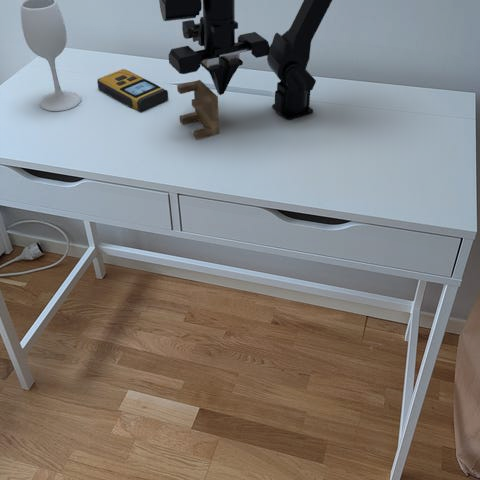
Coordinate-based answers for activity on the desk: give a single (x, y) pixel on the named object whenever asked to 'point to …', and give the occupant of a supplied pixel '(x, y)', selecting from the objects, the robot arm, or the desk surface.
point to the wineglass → (47, 46)
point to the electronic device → (132, 90)
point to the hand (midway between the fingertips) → (220, 93)
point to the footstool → (201, 108)
